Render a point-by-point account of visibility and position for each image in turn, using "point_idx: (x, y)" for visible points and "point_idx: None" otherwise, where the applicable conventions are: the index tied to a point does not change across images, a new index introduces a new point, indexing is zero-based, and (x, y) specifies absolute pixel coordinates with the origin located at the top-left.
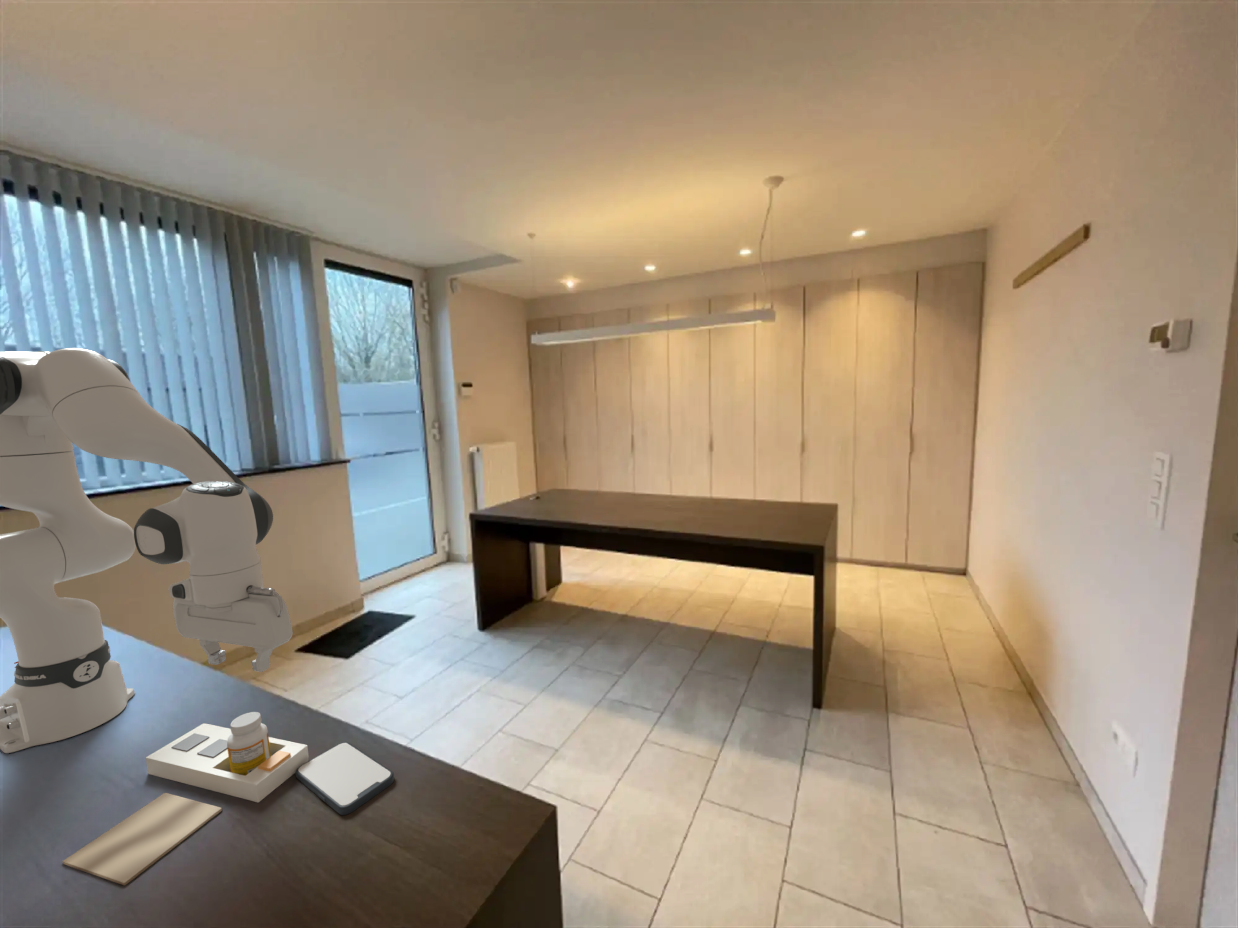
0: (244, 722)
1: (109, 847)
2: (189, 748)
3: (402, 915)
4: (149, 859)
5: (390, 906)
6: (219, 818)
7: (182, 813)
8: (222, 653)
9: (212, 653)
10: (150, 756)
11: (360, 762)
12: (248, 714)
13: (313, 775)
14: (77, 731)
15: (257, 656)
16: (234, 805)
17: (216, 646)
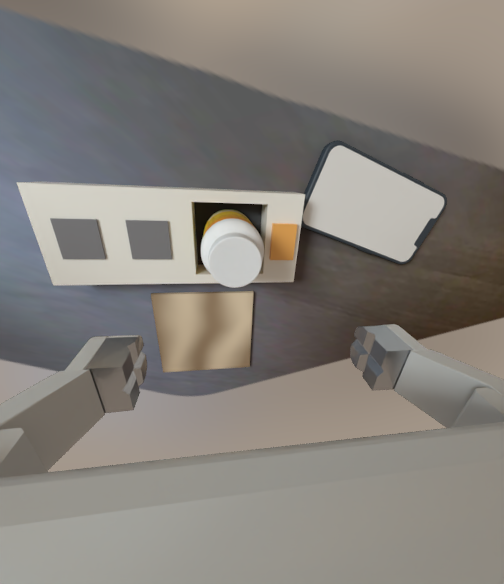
0: (244, 272)
1: (189, 353)
2: (102, 253)
3: (483, 321)
4: (245, 349)
5: (473, 319)
6: (261, 299)
7: (214, 309)
8: (127, 368)
9: (102, 406)
10: (58, 282)
11: (389, 187)
12: (224, 248)
13: (335, 227)
14: None
15: (433, 415)
16: (260, 282)
17: (62, 402)
